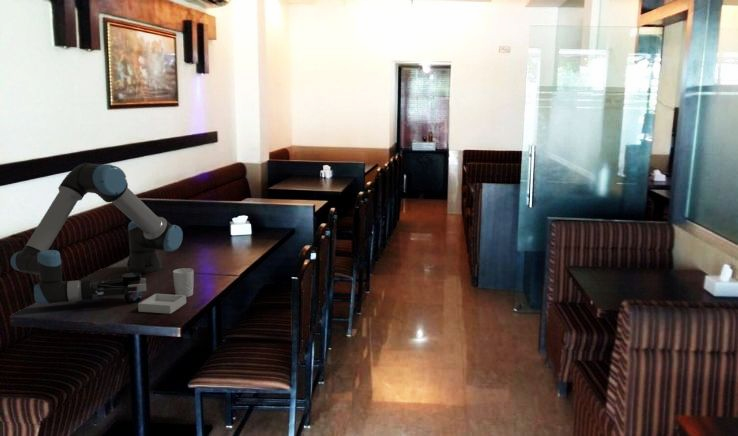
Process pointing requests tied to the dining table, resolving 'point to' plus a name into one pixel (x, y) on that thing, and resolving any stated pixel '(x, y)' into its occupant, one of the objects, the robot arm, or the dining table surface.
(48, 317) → the dining table surface
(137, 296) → the supplement container
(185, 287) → the white cup
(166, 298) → the tray
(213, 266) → the dining table surface
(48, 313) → the dining table surface
